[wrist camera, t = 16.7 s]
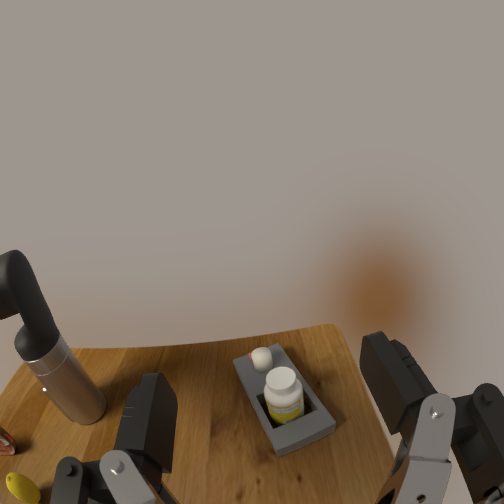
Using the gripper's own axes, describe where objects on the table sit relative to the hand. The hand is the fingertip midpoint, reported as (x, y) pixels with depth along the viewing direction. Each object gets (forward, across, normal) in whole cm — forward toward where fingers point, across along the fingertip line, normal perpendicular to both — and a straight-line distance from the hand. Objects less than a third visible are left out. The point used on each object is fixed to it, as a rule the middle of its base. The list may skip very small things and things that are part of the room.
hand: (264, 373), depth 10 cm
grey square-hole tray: (+19, -1, +30) cm, 36 cm away
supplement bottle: (+16, -1, +30) cm, 34 cm away
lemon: (-5, +43, +30) cm, 52 cm away
